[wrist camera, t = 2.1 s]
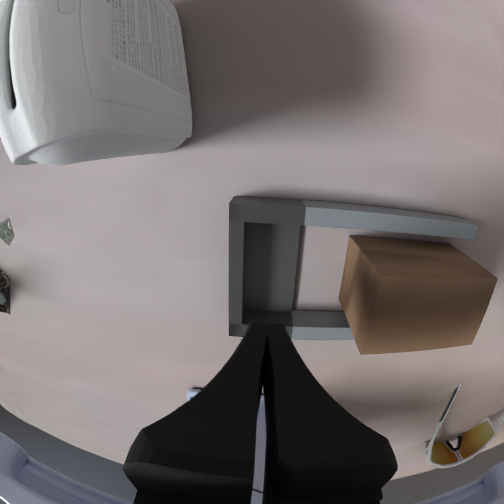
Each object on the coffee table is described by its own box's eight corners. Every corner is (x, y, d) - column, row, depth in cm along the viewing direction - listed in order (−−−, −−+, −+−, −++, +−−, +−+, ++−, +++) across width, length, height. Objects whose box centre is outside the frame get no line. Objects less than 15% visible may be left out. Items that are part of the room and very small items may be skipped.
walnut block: (433, 298, 19) (471, 344, 13) (338, 297, 19) (360, 354, 14) (448, 243, 17) (497, 278, 12) (348, 235, 18) (381, 276, 12)
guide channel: (434, 320, 19) (444, 334, 17) (232, 318, 20) (229, 335, 18) (462, 217, 16) (478, 225, 14) (233, 196, 17) (229, 203, 15)
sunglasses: (408, 455, 28) (418, 480, 23) (437, 376, 25) (456, 402, 20) (482, 427, 27) (495, 446, 22) (515, 348, 23) (536, 366, 19)
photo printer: (121, 22, 13) (-5, -47, 1) (181, 1, 12) (88, -112, 1) (137, 159, 16) (-29, 203, 5) (202, 144, 16) (64, 155, 4)
